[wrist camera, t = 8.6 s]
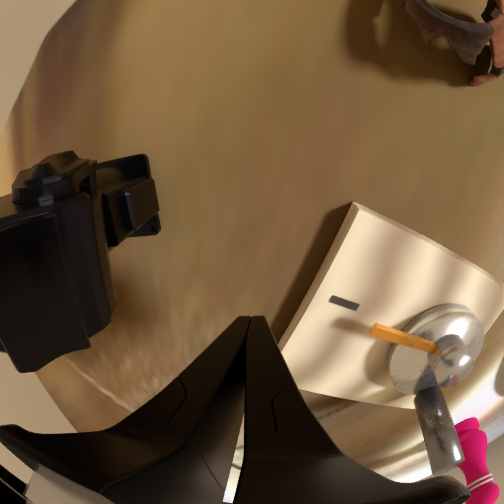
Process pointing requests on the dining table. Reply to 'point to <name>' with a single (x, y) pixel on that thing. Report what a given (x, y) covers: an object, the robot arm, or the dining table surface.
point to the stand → (376, 305)
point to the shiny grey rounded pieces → (434, 372)
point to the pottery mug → (464, 33)
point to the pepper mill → (476, 463)
